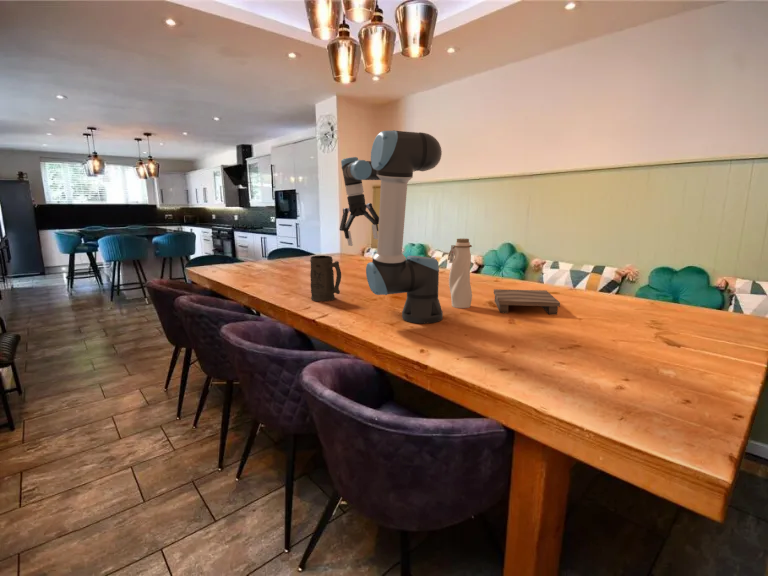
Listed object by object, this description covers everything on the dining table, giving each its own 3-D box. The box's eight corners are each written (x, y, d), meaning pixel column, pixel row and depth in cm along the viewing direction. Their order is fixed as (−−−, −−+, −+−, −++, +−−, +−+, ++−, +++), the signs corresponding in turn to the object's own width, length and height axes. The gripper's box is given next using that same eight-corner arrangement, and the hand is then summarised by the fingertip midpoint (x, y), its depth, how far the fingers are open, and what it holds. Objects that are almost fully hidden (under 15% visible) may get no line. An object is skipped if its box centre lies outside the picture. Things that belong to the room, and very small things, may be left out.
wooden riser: (559, 315, 147) (560, 302, 146) (499, 313, 150) (499, 301, 149) (545, 301, 168) (546, 290, 167) (493, 300, 172) (493, 289, 170)
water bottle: (445, 308, 159) (447, 239, 154) (447, 302, 168) (449, 238, 162) (471, 309, 157) (473, 240, 151) (471, 304, 166) (474, 238, 160)
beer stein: (305, 300, 175) (305, 256, 170) (316, 295, 185) (316, 253, 180) (336, 305, 170) (338, 260, 166) (346, 299, 180) (347, 257, 176)
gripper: (374, 190, 179) (381, 235, 185) (326, 199, 167) (335, 247, 173) (383, 189, 173) (390, 236, 179) (333, 199, 160) (343, 249, 166)
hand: (363, 242), depth 176 cm, fingers open, 13 cm apart
